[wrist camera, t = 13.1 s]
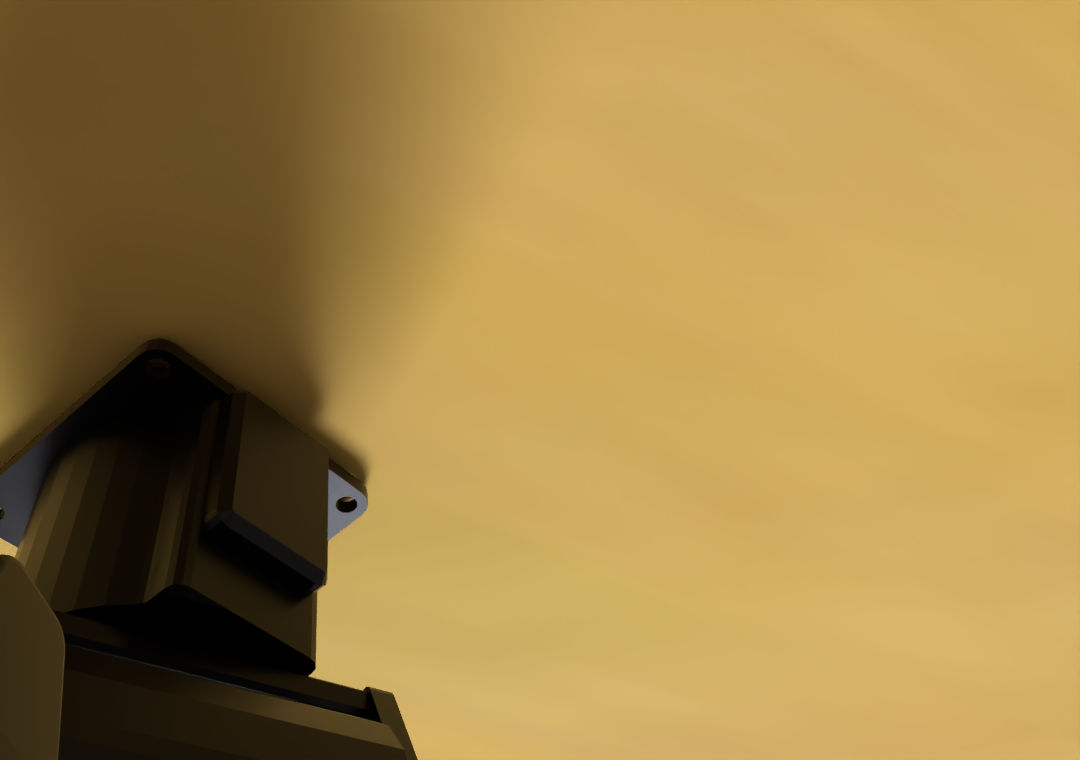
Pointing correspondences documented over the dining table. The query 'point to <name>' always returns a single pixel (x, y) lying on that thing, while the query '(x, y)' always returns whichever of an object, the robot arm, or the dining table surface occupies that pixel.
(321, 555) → the robot arm
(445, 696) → the dining table surface
